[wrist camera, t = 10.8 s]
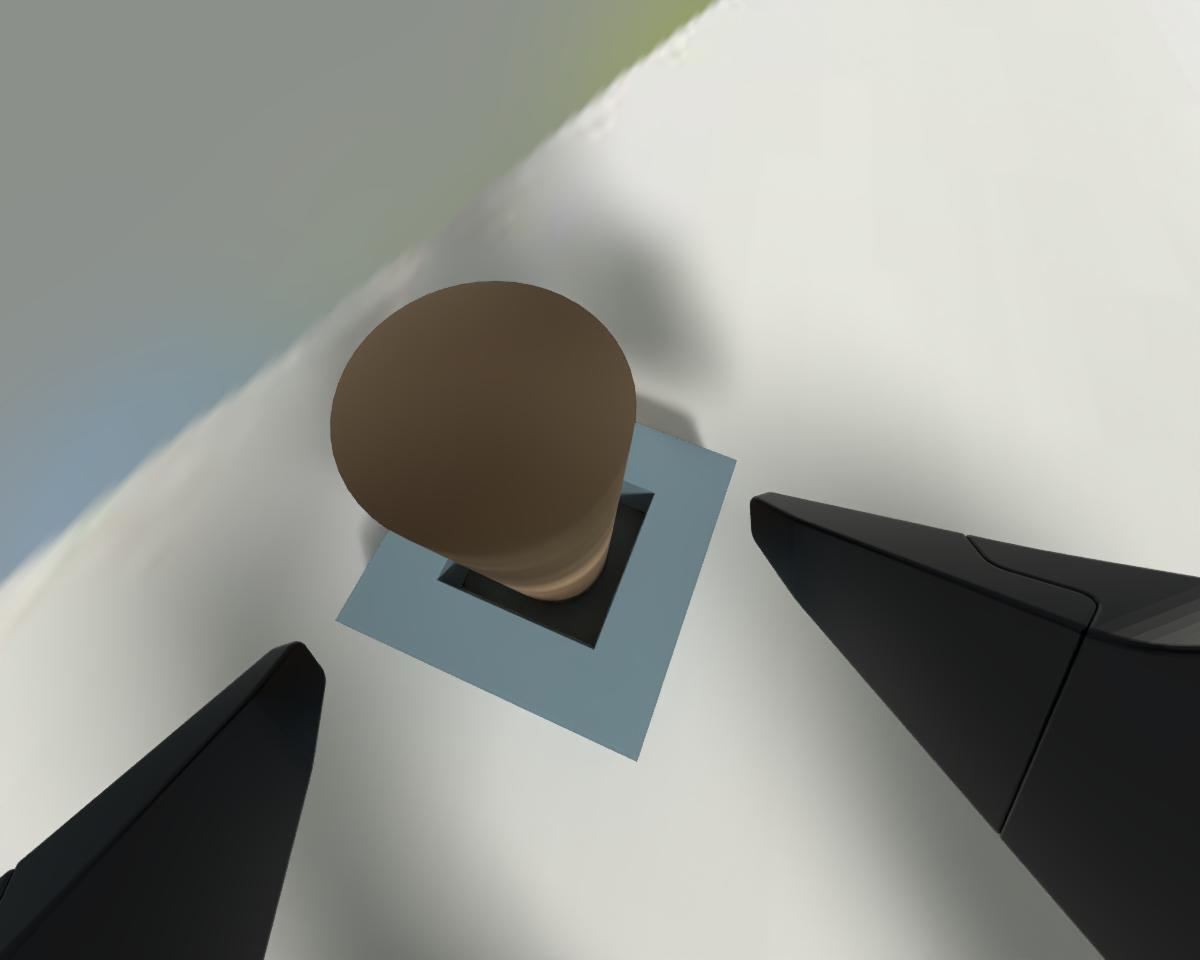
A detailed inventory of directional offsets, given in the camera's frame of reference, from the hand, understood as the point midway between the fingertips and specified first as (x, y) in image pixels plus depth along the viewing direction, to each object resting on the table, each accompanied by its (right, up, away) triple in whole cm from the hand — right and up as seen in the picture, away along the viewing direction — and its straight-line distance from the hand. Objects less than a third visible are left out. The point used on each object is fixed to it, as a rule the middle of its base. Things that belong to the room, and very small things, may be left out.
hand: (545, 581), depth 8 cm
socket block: (-1, -1, +10) cm, 10 cm away
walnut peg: (-1, -1, +10) cm, 10 cm away
